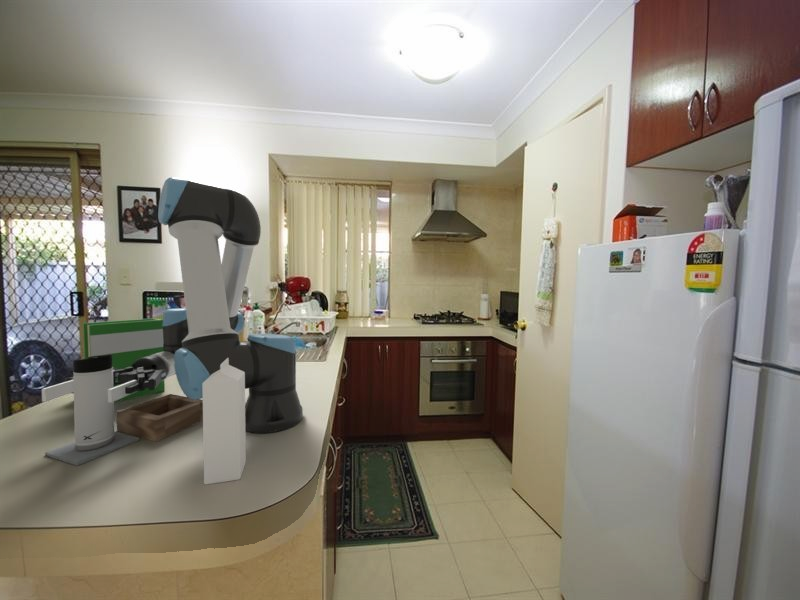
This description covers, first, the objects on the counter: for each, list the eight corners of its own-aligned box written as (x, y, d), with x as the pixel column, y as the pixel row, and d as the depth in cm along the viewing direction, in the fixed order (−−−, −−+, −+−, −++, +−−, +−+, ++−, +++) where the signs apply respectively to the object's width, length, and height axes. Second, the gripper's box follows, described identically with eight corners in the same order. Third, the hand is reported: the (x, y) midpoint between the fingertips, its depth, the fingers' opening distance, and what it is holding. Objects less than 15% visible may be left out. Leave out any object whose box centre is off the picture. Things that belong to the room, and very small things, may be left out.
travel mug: (91, 453, 66) (89, 358, 65) (67, 449, 67) (64, 356, 66) (122, 439, 72) (121, 352, 71) (100, 436, 73) (98, 350, 73)
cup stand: (207, 418, 85) (207, 400, 84) (156, 441, 72) (155, 420, 72) (170, 411, 89) (170, 393, 89) (116, 431, 77) (116, 411, 77)
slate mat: (138, 440, 73) (138, 437, 73) (76, 465, 63) (76, 462, 63) (107, 432, 77) (107, 429, 76) (45, 455, 66) (44, 452, 66)
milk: (204, 485, 57) (200, 366, 56) (213, 466, 63) (210, 358, 62) (240, 479, 59) (238, 363, 58) (246, 461, 65) (244, 356, 63)
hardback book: (92, 407, 91) (89, 325, 90) (86, 401, 95) (83, 323, 94) (164, 390, 106) (162, 319, 104) (156, 386, 110) (154, 318, 109)
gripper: (200, 382, 87) (137, 413, 66) (109, 381, 87) (16, 412, 66) (199, 355, 87) (136, 378, 66) (108, 354, 86) (15, 377, 65)
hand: (76, 395), depth 66 cm, fingers open, 13 cm apart
